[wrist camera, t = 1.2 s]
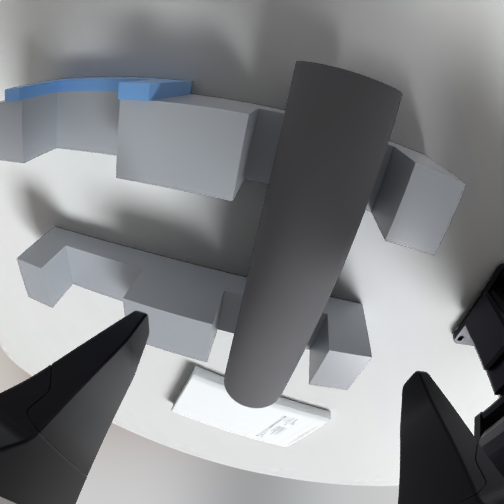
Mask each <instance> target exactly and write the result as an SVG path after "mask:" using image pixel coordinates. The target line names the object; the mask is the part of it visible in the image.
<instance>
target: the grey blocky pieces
mask: <svg viewBox="0 0 504 504" xmlns="http://www.w3.org/2000/svg"><path fill="white" fill-rule="evenodd" d="M192 82H193V81H183V80H172V79H157V78H136V77H88V78H68V79H58V80H51V81H45V82H39V83H34V84H28V85H23V86H19V87H14V88H10V89H6V90H5V100H3V101H0V160H2V161H10V162H18V163H25V162H27V161H30V160H32V159H34V158H36V157H38V156H40V155H42V154H44V153H47V152H49V151H51V150H53V149H56V148H61V149H70V150H79V151H87V152H95V153H103V154H110V155H117V165H116V178H120V179H125V180H131V181H136V182H141V183H146V184H152V185H157V186H162V187H167V188H172V189H177V190H182V191H186V192H191V193H196V194H201V195H205V196H210V197H214V198H219V199H223V200H228V201H232V202H233V200H234V198H235V196H236V194H237V192H238V190H239V189H240V187H241V185H242V183H243V181H244V179H247V180H252V181H256V182H261V183H265V184H269V180H270V175H271V171H272V166H273V162H274V158H275V153H276V149H277V144H278V140H279V136H280V131H281V127H282V122H283V118H284V114H285V110H281V109H276V108H272V107H267V106H262V105H257V104H252V103H247V102H241V101H236V100H230V99H223V98H217V97H210V96H203V95H195V94H191V88H192ZM465 186H466V184H465V183H464V182H462V181H461V180H460V179H458V178H457V177H456V176H454V175H453V174H452V173H450V172H449V171H448V170H446V169H445V168H443V167H442V166H441V165H439V164H438V163H436V162H435V161H433V160H432V159H431V158H429V157H428V156H426V155H423V154H421V153H419V152H416V151H414V150H411V149H409V148H406V147H403V146H401V145H398V144H395V143H393V142H390V141H389V142H388V145H387V148H386V151H385V154H384V157H383V160H382V163H381V166H380V169H379V172H378V175H377V178H376V181H375V184H374V187H373V190H372V193H371V195H370V198H369V201H368V204H367V206H366V209H365V210H367V211H370V212H372V214H373V216H374V218H375V220H376V222H377V224H378V227H379V229H380V231H381V233H382V235H383V237H384V239H385V241H388V242H392V243H395V244H398V245H402V246H405V247H409V248H412V249H415V250H419V251H422V252H425V253H428V254H432V255H435V253H436V251H437V249H438V247H439V245H440V243H441V241H442V239H443V237H444V235H445V233H446V230H447V228H448V226H449V224H450V222H451V220H452V217H453V215H454V213H455V211H456V208H457V206H458V204H459V201H460V199H461V196H462V194H463V191H464V189H465ZM17 261H18V265H19V268H20V272H21V275H22V278H23V281H24V284H25V288H26V291H27V294H28V297H30V298H32V299H34V300H37V301H39V302H41V303H43V304H45V305H47V306H50V307H52V308H53V307H54V305H55V304H56V303H57V302H58V301H59V299H60V298H61V297H62V296H63V295H64V294H65V292H66V291H67V290H68V289H69V288H70V287H71V286H72V284H75V285H78V286H80V287H83V288H86V289H89V290H91V291H94V292H97V293H100V294H103V295H106V296H109V297H112V298H114V299H117V300H120V301H123V304H124V312H125V316H127V315H129V314H130V313H132V312H133V311H136V310H137V311H141V312H144V313H146V314H148V318H149V337H148V339H147V342H146V344H147V345H150V346H153V347H157V348H160V349H163V350H166V351H169V352H173V353H176V354H179V355H183V356H186V357H190V358H193V359H197V360H200V361H204V362H207V361H208V358H209V354H210V351H211V348H212V345H213V342H214V339H215V336H216V333H217V329H219V330H223V331H227V332H231V333H235V328H236V324H237V320H238V315H239V311H240V306H241V302H242V298H243V293H244V289H245V285H246V280H247V277H243V276H239V275H234V274H230V273H226V272H222V271H218V270H214V269H210V268H206V267H202V266H198V265H194V264H191V263H187V262H183V261H179V260H175V259H171V258H167V257H163V256H160V255H156V254H152V253H148V252H145V251H141V250H137V249H133V248H130V247H126V246H122V245H119V244H115V243H111V242H108V241H104V240H100V239H97V238H93V237H90V236H86V235H83V234H79V233H76V232H72V231H69V230H65V229H62V228H58V227H53V228H52V229H51V230H50V231H48V232H47V233H46V234H45V235H44V236H42V237H41V238H40V239H39V240H37V241H36V242H35V243H34V244H33V245H32V246H30V247H29V248H28V249H27V250H26V251H25V252H24V253H22V254H21V255H20V256H19V257H18V258H17ZM305 349H308V350H310V365H309V384H310V385H316V386H323V387H330V388H337V389H344V390H348V388H349V387H350V386H351V385H352V383H353V382H354V381H355V379H356V378H357V377H358V375H359V374H360V373H361V371H362V370H363V369H364V367H365V366H366V365H367V363H368V362H369V361H370V359H371V358H372V355H371V349H370V343H369V337H368V332H367V326H366V321H365V316H364V311H363V306H362V304H360V303H355V302H351V301H346V300H342V299H337V298H333V297H329V299H328V302H327V304H326V306H325V308H324V310H323V313H322V315H321V317H320V319H319V321H318V323H317V325H316V327H315V329H314V332H313V334H312V336H311V338H310V340H309V342H308V344H307V346H306V348H305Z"/></svg>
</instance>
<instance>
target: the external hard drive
mask: <svg viewBox="0 0 504 504" xmlns="http://www.w3.org/2000/svg"><path fill="white" fill-rule="evenodd" d="M171 411H173V412H176V413H178V414H181V415H183V416H186V417H188V418H191V419H194V420H196V421H199V422H202V423H205V424H208V425H210V426H213V427H216V428H219V429H222V430H225V431H229V432H232V433H235V434H238V435H242V436H245V437H249V438H252V439H256V440H259V441H263V442H267V443H271V444H275V445H279V446H283V447H288V446H290V445H291V444H293V443H295V442H296V441H298V440H300V439H301V438H303V437H305V436H307V435H308V434H310V433H312V432H313V431H315V430H316V429H318V428H320V427H321V426H323V425H324V424H326V423H327V422H328V421H329V420H330V419H331V411H327V410H324V409H320V408H316V407H313V406H309V405H306V404H302V403H299V402H296V401H292V400H289V399H286V398H283V397H279V399H278V400H277V401H276V402H275V403H273V404H272V405H270V406H267V407H264V408H249V407H245V406H243V405H241V404H239V403H237V402H236V401H234V400H233V399H232V398H231V397H230V396H229V394H228V393H227V391H226V389H225V386H224V377H223V376H221V375H218V374H215V373H213V372H210V371H208V370H205V369H203V368H201V367H198V366H195V368H194V369H193V371H192V373H191V375H190V376H189V378H188V380H187V382H186V383H185V385H184V387H183V388H182V390H181V392H180V394H179V395H178V397H177V399H176V400H175V402H174V404H173V407H172V409H171Z"/></svg>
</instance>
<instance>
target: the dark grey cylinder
mask: <svg viewBox="0 0 504 504" xmlns="http://www.w3.org/2000/svg"><path fill="white" fill-rule="evenodd" d="M401 96H402V93H401V92H400V91H398V90H397V89H395V88H393V87H391V86H388V85H386V84H384V83H382V82H379V81H377V80H374V79H371V78H369V77H366V76H363V75H360V74H357V73H354V72H350V71H347V70H343V69H340V68H336V67H332V66H327V65H323V64H318V63H312V62H304V61H297V62H296V65H295V70H294V74H293V78H292V83H291V87H290V92H289V96H288V100H287V105H286V109H285V114H284V118H283V122H282V127H281V131H280V136H279V140H278V144H277V149H276V153H275V158H274V162H273V166H272V171H271V175H270V180H269V184H268V188H267V193H266V197H265V201H264V206H263V210H262V215H261V219H260V223H259V228H258V232H257V237H256V241H255V245H254V250H253V254H252V258H251V263H250V267H249V272H248V276H247V280H246V285H245V289H244V293H243V298H242V302H241V306H240V311H239V315H238V320H237V324H236V328H235V333H234V337H233V341H232V346H231V350H230V354H229V359H228V363H227V368H226V372H225V376H224V386H225V389H226V391H227V393H228V394H229V396H230V397H231V398H232V399H233V400H234V401H236V402H237V403H239V404H241V405H243V406H245V407H249V408H264V407H267V406H270V405H272V404H273V403H275V402H276V401H277V400H278V399H279V397H280V396H281V394H282V392H283V390H284V388H285V387H286V385H287V383H288V381H289V379H290V377H291V375H292V373H293V371H294V370H295V368H296V366H297V364H298V362H299V360H300V358H301V356H302V354H303V352H304V350H305V348H306V346H307V344H308V342H309V340H310V338H311V336H312V334H313V332H314V329H315V327H316V325H317V323H318V321H319V319H320V317H321V315H322V313H323V310H324V308H325V306H326V304H327V302H328V299H329V297H330V295H331V293H332V290H333V288H334V286H335V284H336V281H337V279H338V277H339V274H340V272H341V270H342V267H343V265H344V263H345V260H346V258H347V255H348V253H349V250H350V248H351V245H352V243H353V240H354V238H355V235H356V233H357V230H358V228H359V225H360V223H361V220H362V217H363V215H364V212H365V209H366V206H367V204H368V201H369V198H370V195H371V193H372V190H373V187H374V184H375V181H376V178H377V175H378V172H379V169H380V166H381V163H382V160H383V157H384V154H385V151H386V148H387V145H388V142H389V138H390V135H391V132H392V128H393V125H394V122H395V118H396V115H397V111H398V107H399V104H400V100H401Z"/></svg>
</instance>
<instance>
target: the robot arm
mask: <svg viewBox="0 0 504 504" xmlns="http://www.w3.org/2000/svg"><path fill="white" fill-rule="evenodd" d="M503 271H504V264H501V265H500V266H498V268H497V269H496V271H495V273H494V274H493V276H492V278H491V279H490V281H489V283H488V284H487V286H486V288H485V289H484V291H483V292H482V294H481V296H480V297H479V299H478V300H477V302H476V303H475V305H474V306H473V308H472V309H471V311H470V312H469V314H468V315H467V316H466V318H465V319H464V321H463V322H462V323H461V325H460V326H459V328H458V329H457V330H456V332H455V333H454V335H453V339H454V342H455V343H458V344H465V345H472V346H474V347H475V349H476V351H477V354H478V356H479V359H480V361H481V364H482V366H483V369H484V370H486V372H487V375H488V377H489V380H490V383H491V386H492V388H493V391H494V394H495V395H498V396H499V399H498V400H496V401H495V402H494V403H493V404H492V405H491V406H489V407H488V408H487V409H486V410H485V411H483V412H480V413H479V414H478V415H477V416H476V417H475V427H474V436H473V434H472V433H471V431H470V430H469V428H468V427H467V426H466V424H465V423H464V421H463V420H462V419H461V417H460V416H459V414H458V413H457V412H456V410H455V409H454V407H453V406H452V405H451V403H450V402H449V401H448V399H447V398H446V397H445V395H444V394H443V393H442V391H441V390H440V389H439V387H438V386H437V385H436V383H435V382H434V381H433V379H432V378H431V377H430V375H429V374H428V373H427V372H424V371H416V372H415V373H414V374H413V375H412V376H411V377H410V378H409V380H408V381H407V382H406V383H405V384H404V386H403V390H402V408H401V423H400V481H399V498H398V504H504V272H503ZM502 272H503V273H502ZM148 337H149V318H148V314H146V313H144V312H141V311H137V310H136V311H133V312H132V313H130V314H129V315H127V316H125V317H124V318H122V319H121V320H119V321H118V322H116V323H114V324H113V325H111V326H110V327H108V328H107V329H105V330H104V331H102V332H100V333H99V334H97V335H96V336H94V337H93V338H91V339H90V340H88V341H87V342H85V343H83V344H82V345H80V346H79V347H77V348H76V349H74V350H73V351H71V352H70V353H68V354H66V355H65V356H63V357H62V358H60V359H59V360H57V361H56V362H54V363H53V364H52V366H51V365H49V366H48V367H46V368H45V369H43V370H42V371H40V372H39V373H37V374H35V375H34V376H32V377H30V378H29V379H27V380H25V381H23V382H22V383H19V384H18V385H16V386H14V387H12V388H10V389H8V390H6V391H4V392H2V393H0V504H76V501H77V499H78V497H79V494H80V492H81V489H82V487H83V485H84V482H85V480H86V478H87V475H88V473H89V471H90V468H91V466H92V464H93V462H94V459H95V457H96V455H97V453H98V451H99V448H100V446H101V444H102V442H103V440H104V437H105V435H106V433H107V431H108V429H109V427H110V425H111V423H112V421H113V419H114V416H115V414H116V412H117V410H118V408H119V406H120V404H121V402H122V400H123V398H124V396H125V394H126V392H127V390H128V388H129V386H130V384H131V382H132V380H133V377H134V375H135V372H136V370H137V367H138V364H139V361H140V358H141V356H142V353H143V350H144V348H145V345H146V342H147V339H148Z"/></svg>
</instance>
